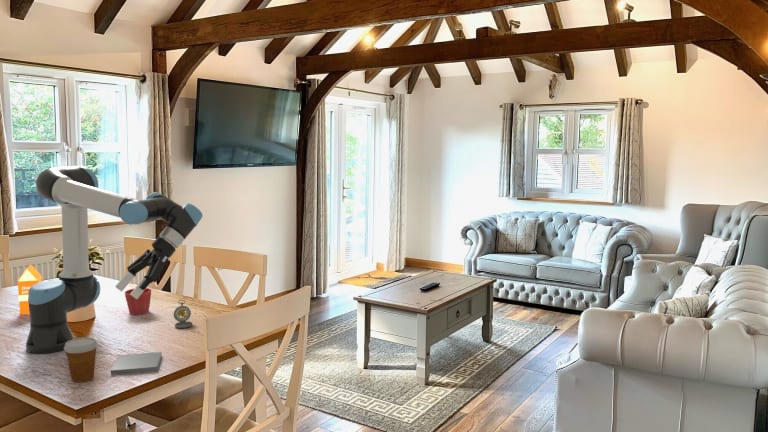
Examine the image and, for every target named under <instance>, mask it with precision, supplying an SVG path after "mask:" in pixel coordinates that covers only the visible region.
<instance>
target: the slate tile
mask: <svg viewBox="0 0 768 432" xmlns="http://www.w3.org/2000/svg"><path fill="white" fill-rule="evenodd" d="M161 359H162V351H157V352H156V351H155V352H144V353H143V352H141V353H131V354H130V353H129V354H118V355H117V356H116V359H115V361H114V362H113V366H112V367H111V369H110V376H111V375H112V376H113V375H116V376H117V375H125V374H126V375H128V374H138V373H150V372H158V370H159V366H160V363H161Z"/></svg>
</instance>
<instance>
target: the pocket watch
mask: <svg viewBox="0 0 768 432" xmlns="http://www.w3.org/2000/svg"><path fill="white" fill-rule="evenodd" d="M182 301H183V302H182ZM185 303H186V301H185V299H180V300H179V301H178V304H179V305H180V306H178V307H176V308H175V309H174V311H173V318H174V319H175V321H177V322H176V323H175V324H174V327H175V328H178V329H185V328H190V327H191V326H193V322H191V321H188V320H189V319H190V318H191V315H192V313H191V309H190V308H189V307H188V306H186V305H184V304H185Z"/></svg>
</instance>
